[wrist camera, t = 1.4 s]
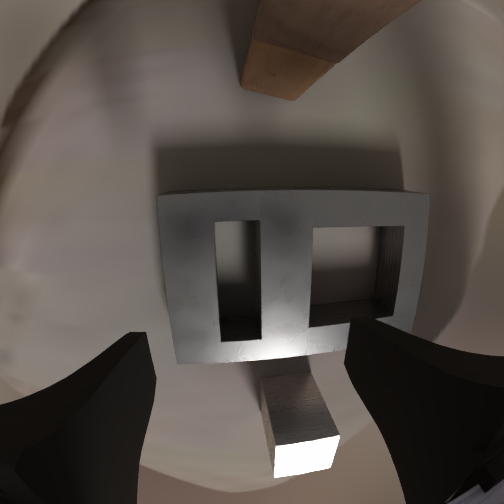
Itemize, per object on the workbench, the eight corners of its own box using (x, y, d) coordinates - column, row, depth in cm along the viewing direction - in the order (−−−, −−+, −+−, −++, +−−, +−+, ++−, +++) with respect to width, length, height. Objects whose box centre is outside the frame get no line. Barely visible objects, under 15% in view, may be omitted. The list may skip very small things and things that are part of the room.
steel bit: (311, 372, 22) (340, 435, 15) (306, 406, 23) (330, 467, 16) (260, 378, 21) (276, 446, 15) (261, 412, 22) (274, 477, 16)
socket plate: (404, 190, 19) (430, 194, 16) (391, 318, 21) (410, 336, 18) (166, 191, 17) (156, 195, 14) (181, 339, 20) (177, 364, 17)
